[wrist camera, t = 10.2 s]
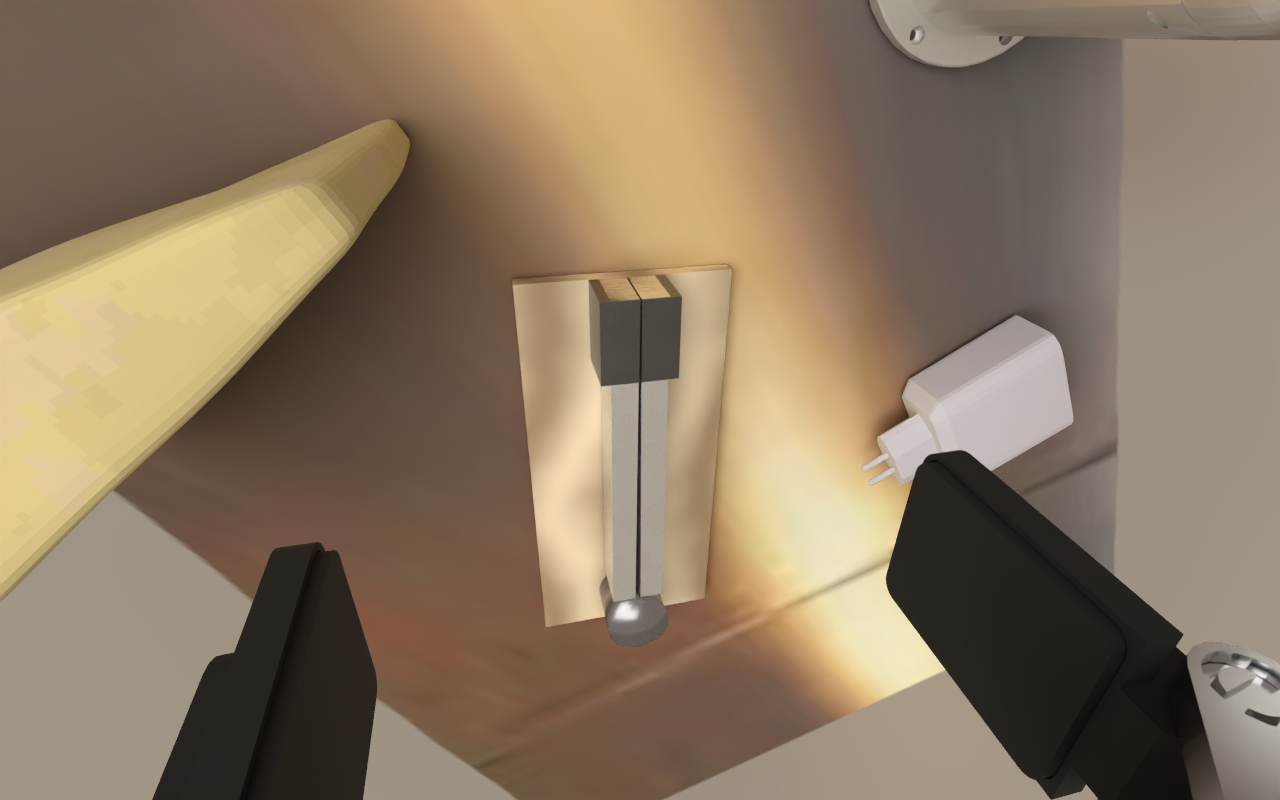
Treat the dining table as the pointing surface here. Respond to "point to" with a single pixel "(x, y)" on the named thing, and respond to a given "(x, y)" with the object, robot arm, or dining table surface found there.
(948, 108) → the dining table surface
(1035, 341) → the charger
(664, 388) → the tongs leg
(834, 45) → the dining table surface
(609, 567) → the tongs leg
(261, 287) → the cheese
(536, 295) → the oak board
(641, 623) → the tongs hinge pin
